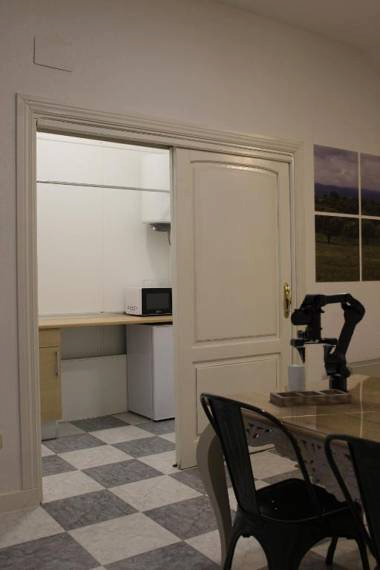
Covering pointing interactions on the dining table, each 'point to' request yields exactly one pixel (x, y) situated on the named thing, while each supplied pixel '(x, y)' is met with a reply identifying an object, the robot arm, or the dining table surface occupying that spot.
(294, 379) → the skincare box
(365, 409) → the dining table surface
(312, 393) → the rail
